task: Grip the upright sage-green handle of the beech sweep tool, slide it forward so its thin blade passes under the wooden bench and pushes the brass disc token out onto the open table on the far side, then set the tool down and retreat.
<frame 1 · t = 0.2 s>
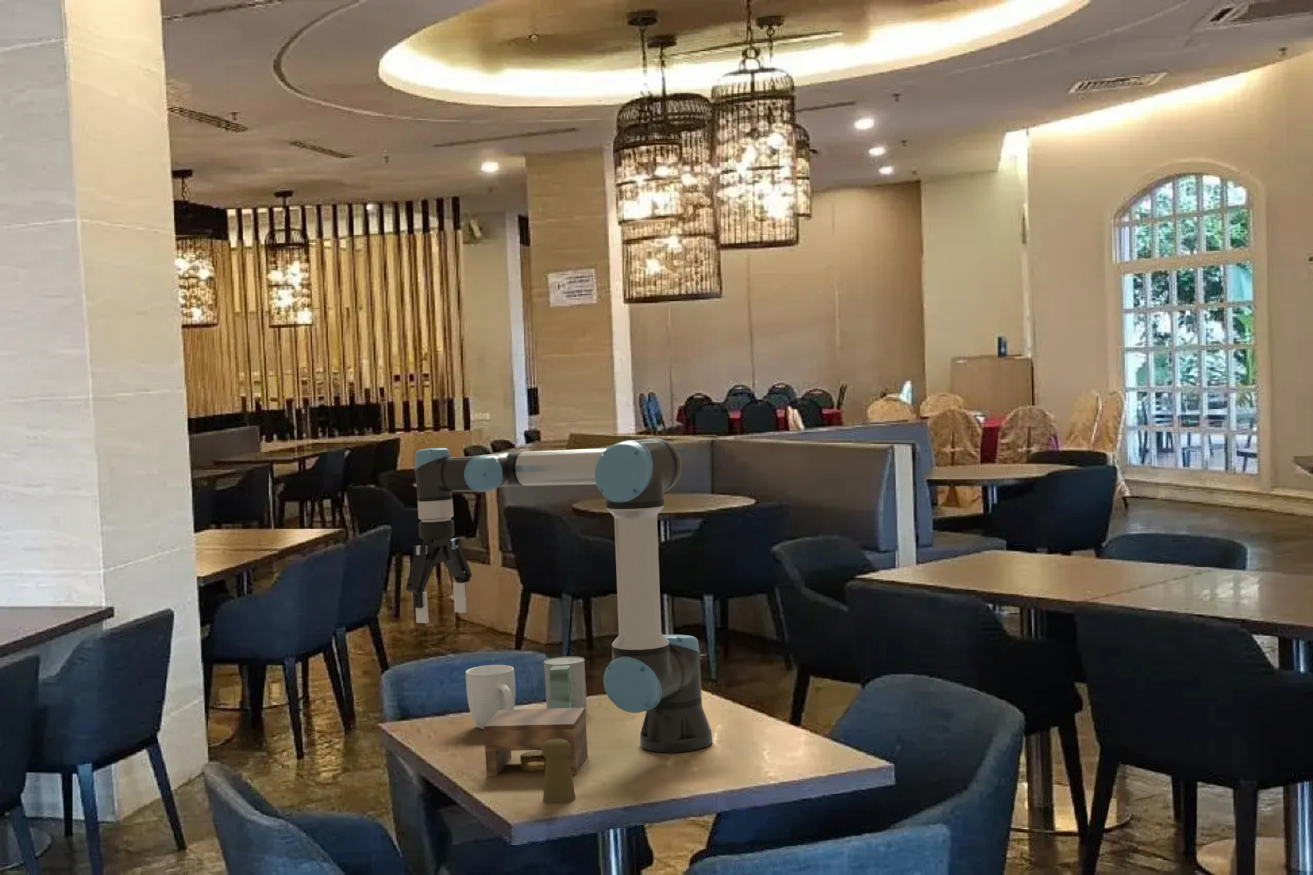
hand: (441, 617, 313), 28 cm above the table, fingers open, 13 cm apart
sweep tool: (563, 730, 322), on the table
token: (538, 767, 293), on the table
cork: (559, 799, 268), on the table
wooden bench: (538, 765, 293), on the table
mug: (495, 728, 328), on the table
speckled white cylinder: (567, 713, 339), on the table
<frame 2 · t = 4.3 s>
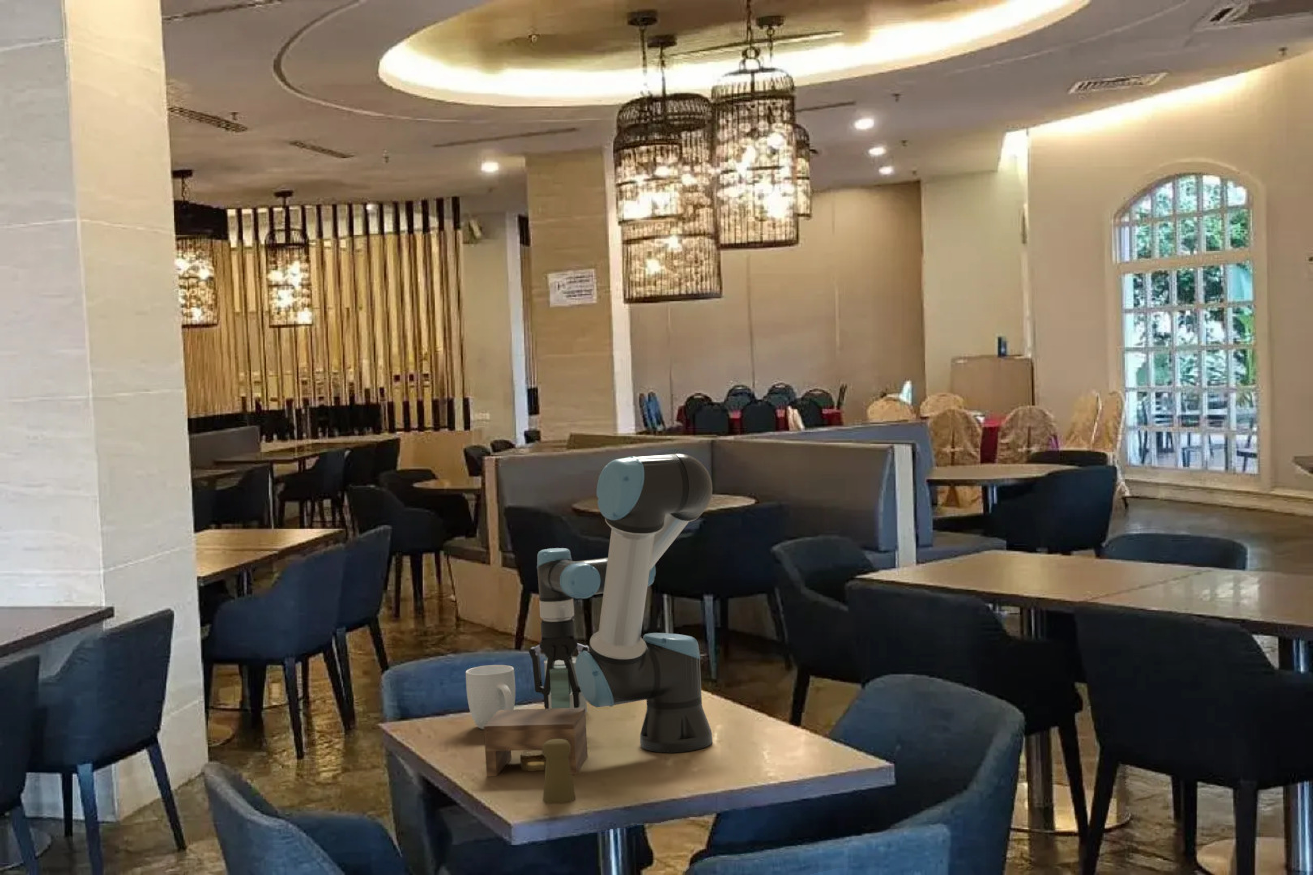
hand: (563, 722, 322), 2 cm above the table, fingers closed on sweep tool, 4 cm apart
sweep tool: (563, 730, 322), on the table, touching gripper
everything else where it was.
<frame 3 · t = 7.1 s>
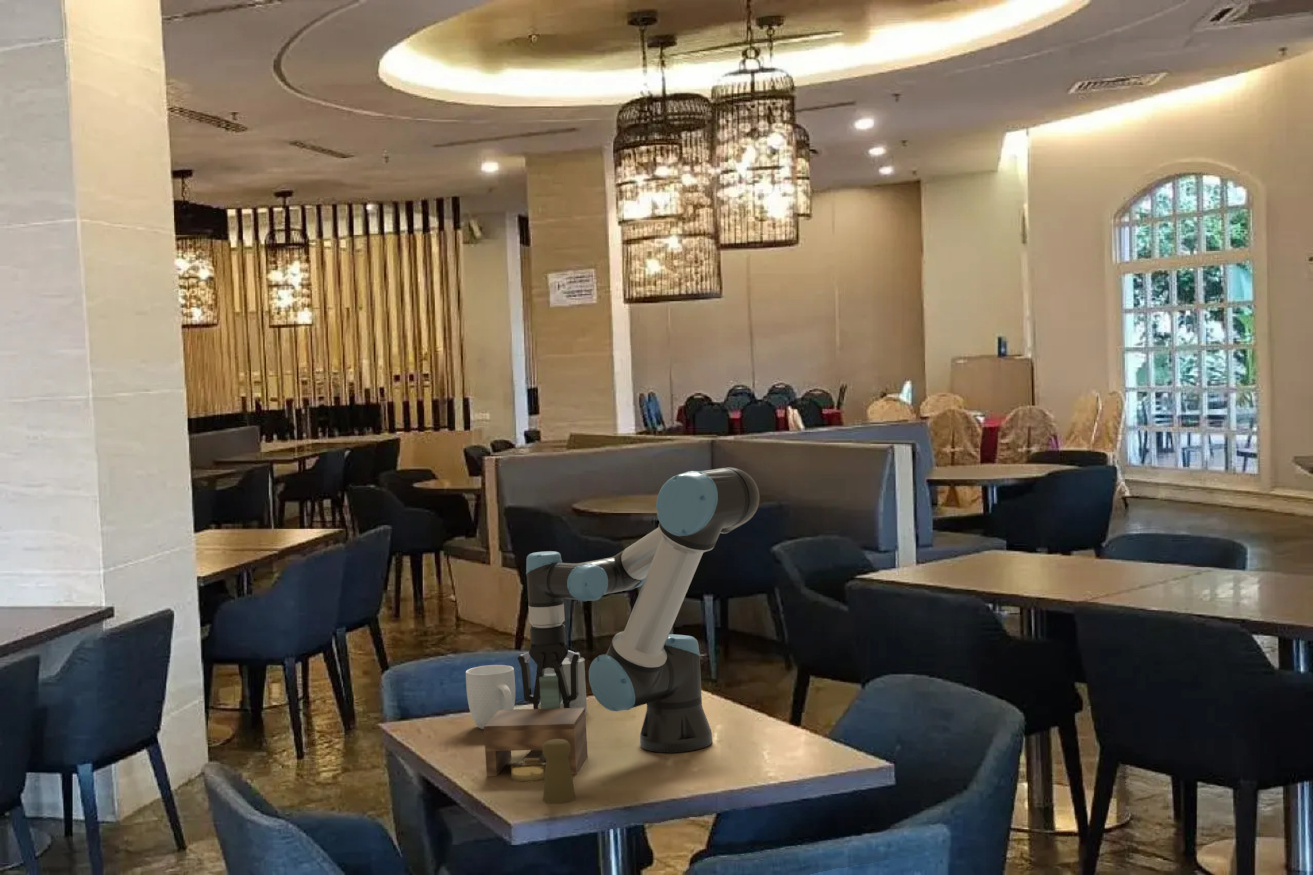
hand: (553, 732, 310), 2 cm above the table, fingers closed on sweep tool, 4 cm apart
sweep tool: (553, 740, 310), point 1 cm above the table, touching gripper, token
token: (529, 777, 285), on the table, touching sweep tool
everything else where it was.
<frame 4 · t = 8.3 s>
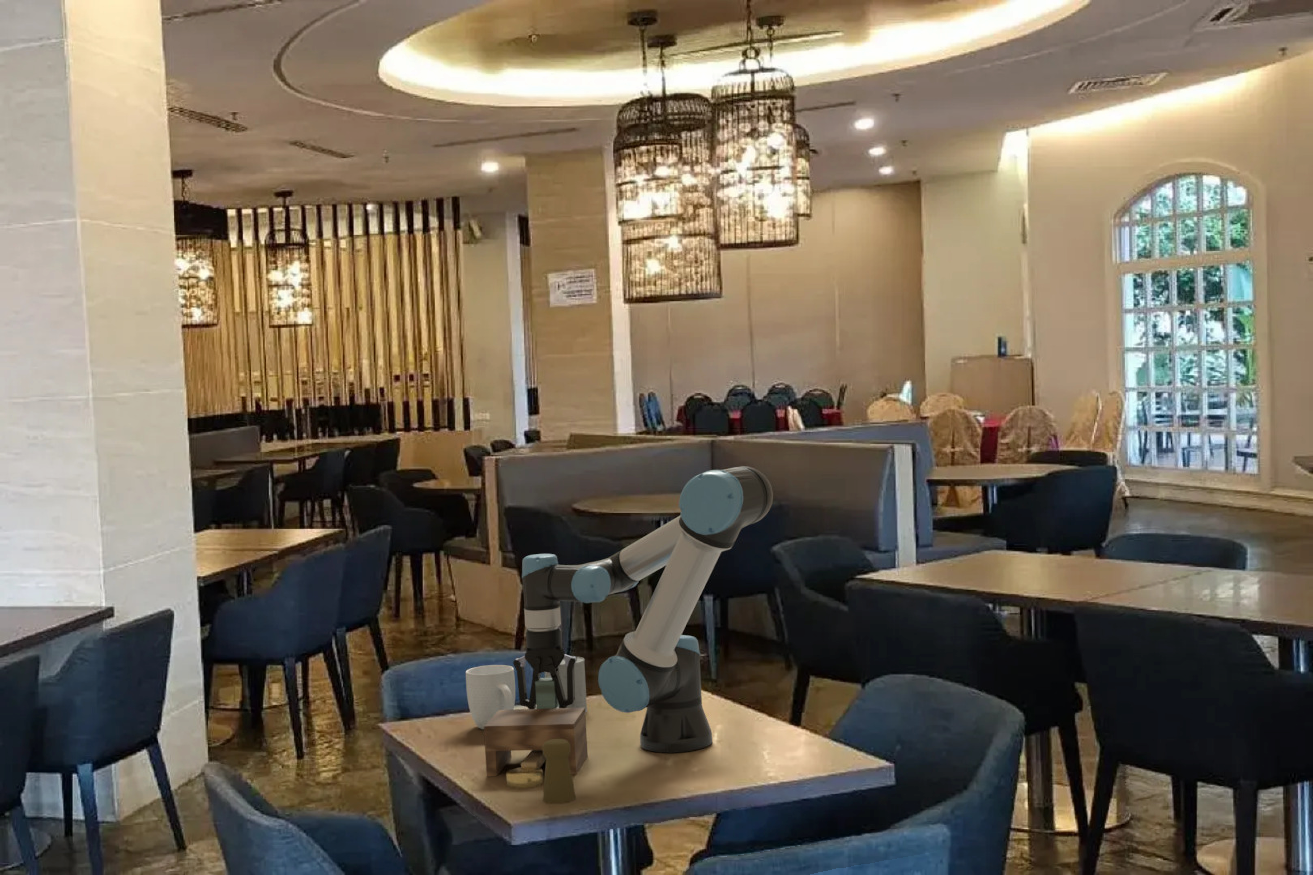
hand: (549, 737, 305), 2 cm above the table, fingers closed on sweep tool, 4 cm apart
sweep tool: (549, 745, 305), point 1 cm above the table, touching gripper
token: (525, 784, 280), on the table
everything else where it was.
when the fingers open (2 cm above the table, at t = 9.2 s): sweep tool stays where it is, on the table.
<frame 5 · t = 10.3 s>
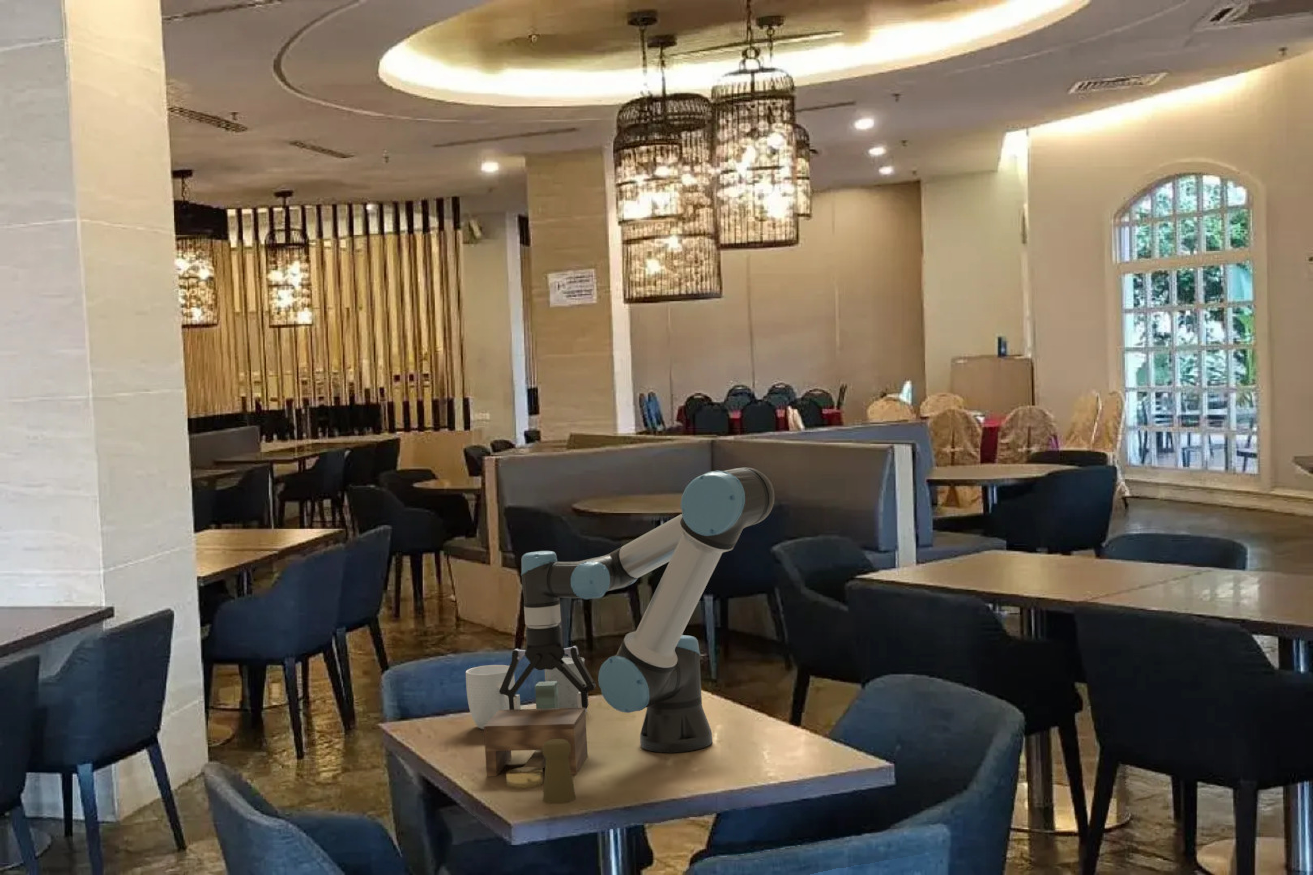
hand: (550, 725, 305), 5 cm above the table, fingers open, 13 cm apart
sweep tool: (549, 749, 305), on the table
everything else where it was.
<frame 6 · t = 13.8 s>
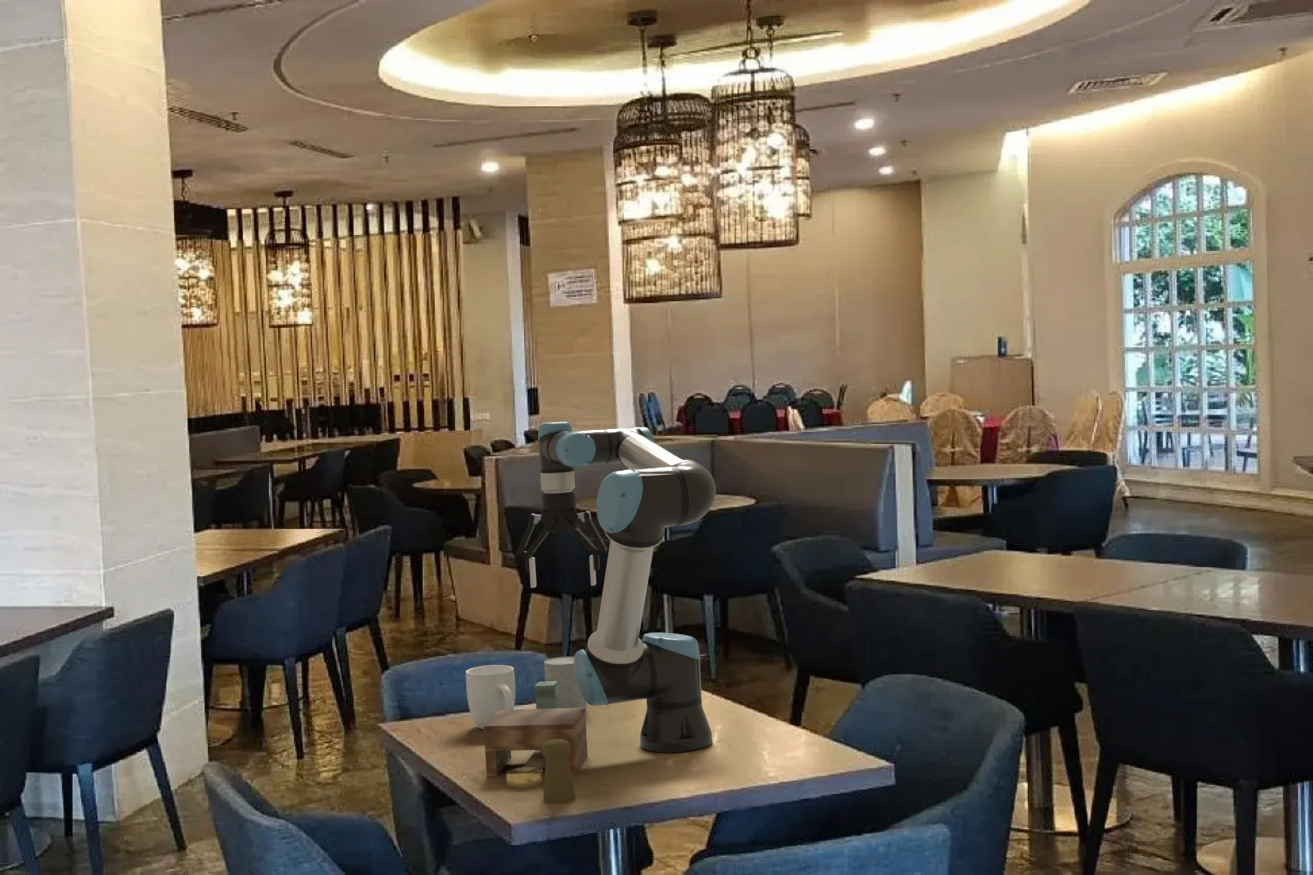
hand: (563, 586, 324), 32 cm above the table, fingers open, 13 cm apart
nothing on the table moved.
at the end: token inside the target area (2.6 cm from its centre), on the table; token moved 12.6 cm from its start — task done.
